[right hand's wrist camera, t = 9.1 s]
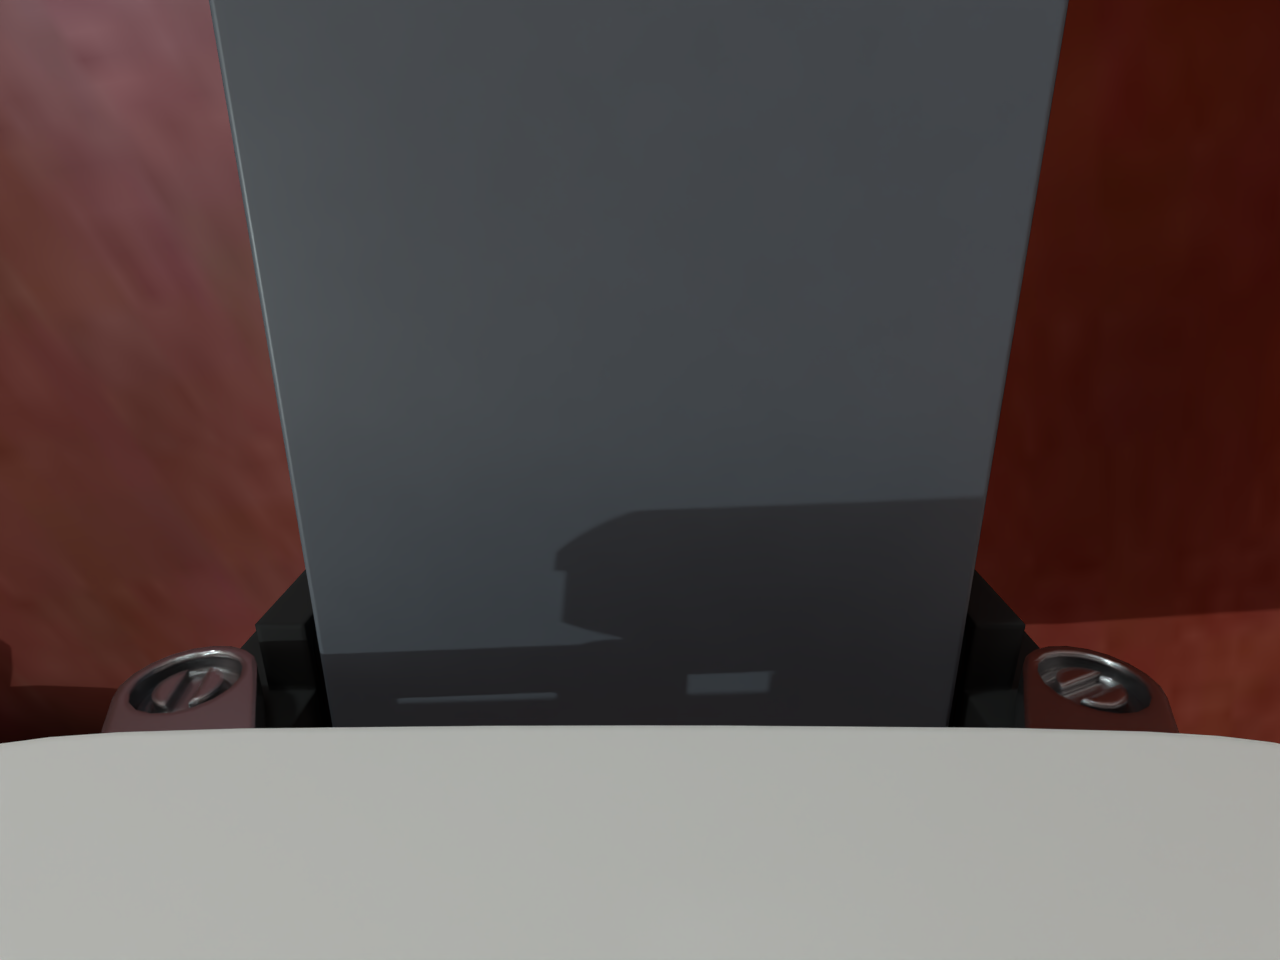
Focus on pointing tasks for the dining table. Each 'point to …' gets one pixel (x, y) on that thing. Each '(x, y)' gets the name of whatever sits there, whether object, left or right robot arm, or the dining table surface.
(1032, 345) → the dining table surface
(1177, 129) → the dining table surface
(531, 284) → the bar
